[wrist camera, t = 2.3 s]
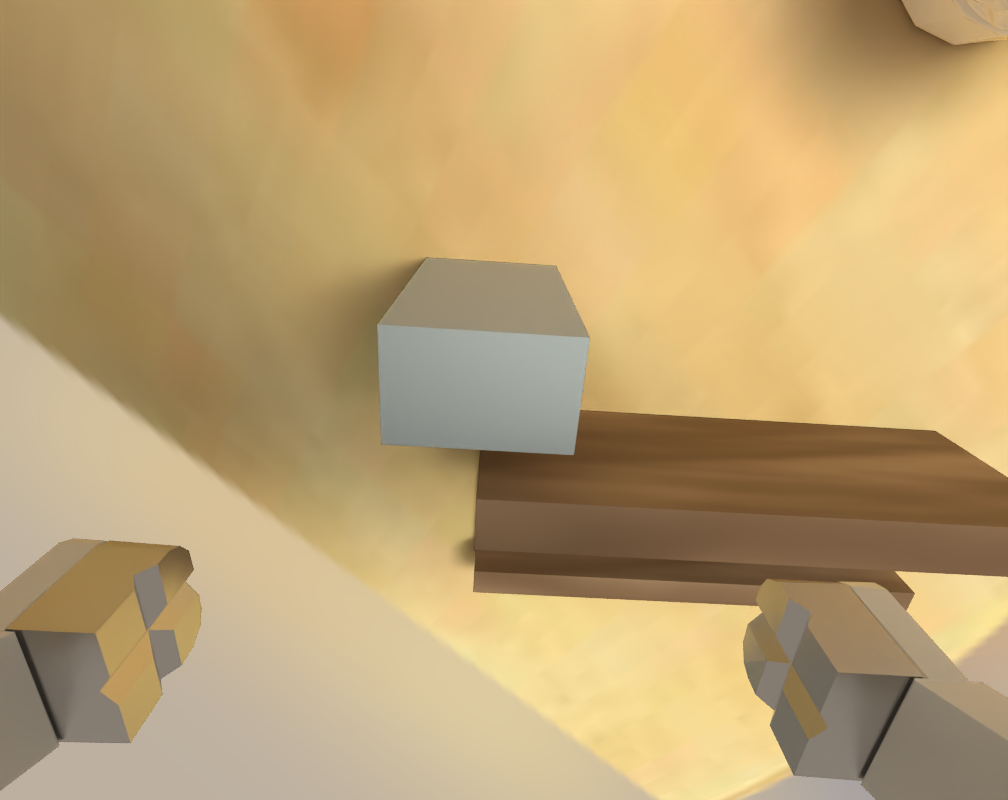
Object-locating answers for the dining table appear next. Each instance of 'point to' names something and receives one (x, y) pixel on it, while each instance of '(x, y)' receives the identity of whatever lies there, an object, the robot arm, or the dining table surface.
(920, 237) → the dining table surface
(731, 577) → the cleat board
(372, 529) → the dining table surface
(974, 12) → the white cup
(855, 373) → the dining table surface
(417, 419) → the cabinet block
